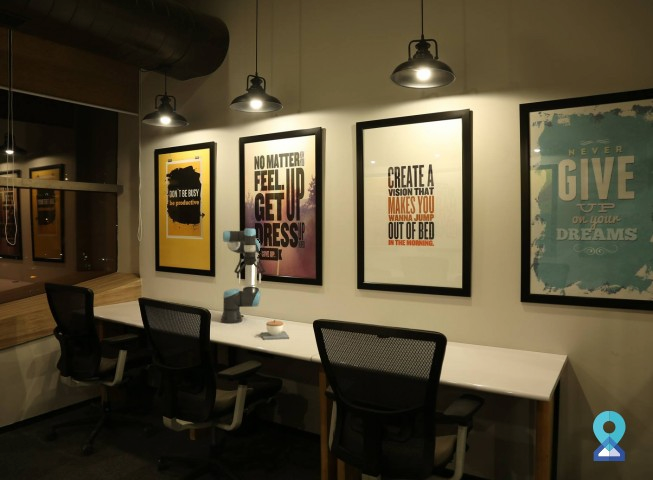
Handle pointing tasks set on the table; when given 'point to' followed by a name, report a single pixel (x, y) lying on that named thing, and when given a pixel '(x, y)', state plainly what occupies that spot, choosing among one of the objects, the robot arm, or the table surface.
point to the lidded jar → (274, 327)
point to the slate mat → (268, 337)
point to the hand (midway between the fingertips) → (249, 283)
